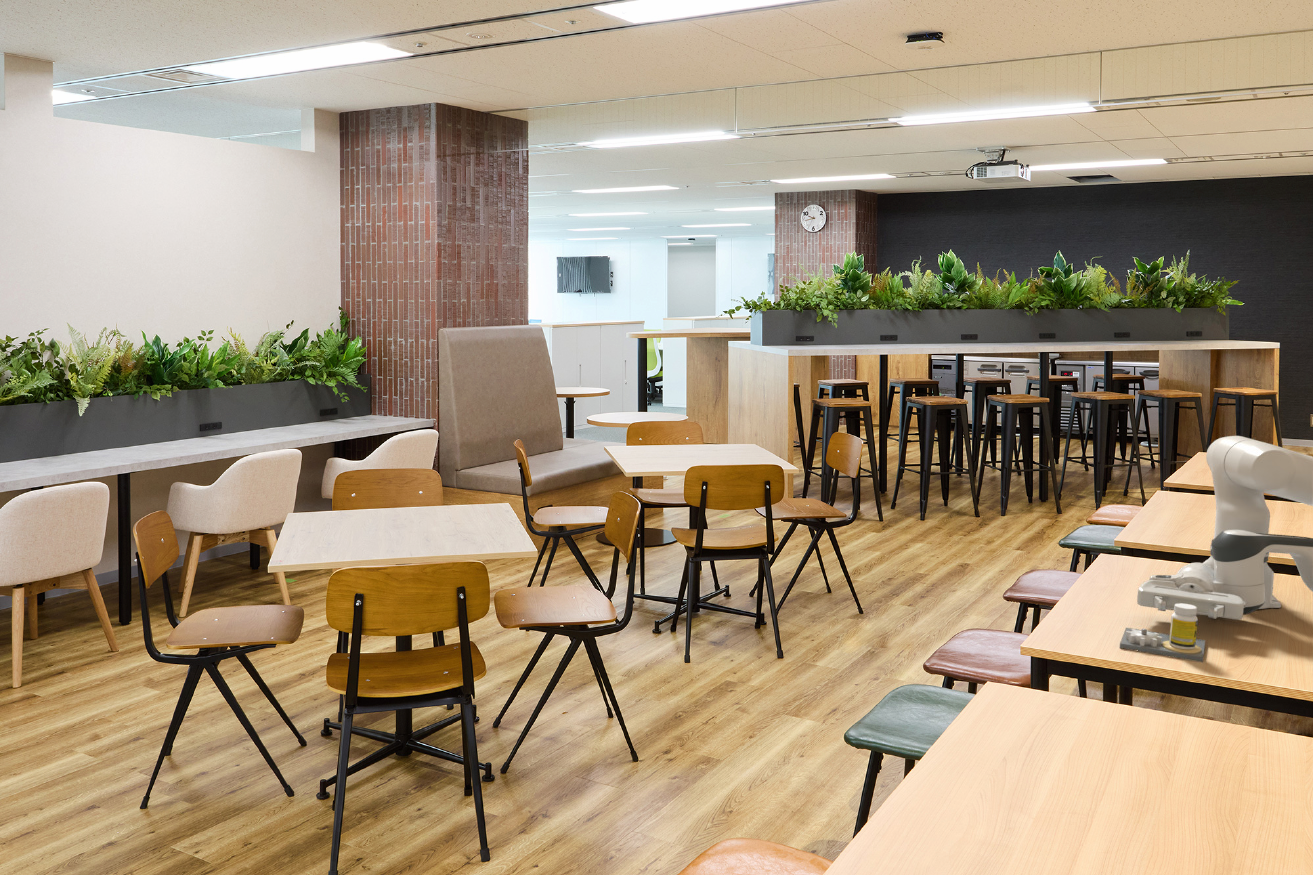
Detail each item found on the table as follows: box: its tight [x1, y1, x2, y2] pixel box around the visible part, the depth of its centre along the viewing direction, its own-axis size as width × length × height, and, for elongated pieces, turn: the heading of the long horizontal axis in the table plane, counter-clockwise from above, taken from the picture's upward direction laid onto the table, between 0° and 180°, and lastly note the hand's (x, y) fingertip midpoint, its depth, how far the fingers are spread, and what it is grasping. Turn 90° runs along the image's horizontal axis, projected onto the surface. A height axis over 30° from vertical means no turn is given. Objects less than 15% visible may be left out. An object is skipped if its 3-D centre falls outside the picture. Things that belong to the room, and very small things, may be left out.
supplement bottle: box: [1169, 603, 1199, 650], centre depth 205 cm, size 5×5×8 cm
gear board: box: [1119, 627, 1206, 663], centre depth 209 cm, size 12×15×4 cm
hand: (1186, 610), depth 212 cm, fingers open, 8 cm apart
